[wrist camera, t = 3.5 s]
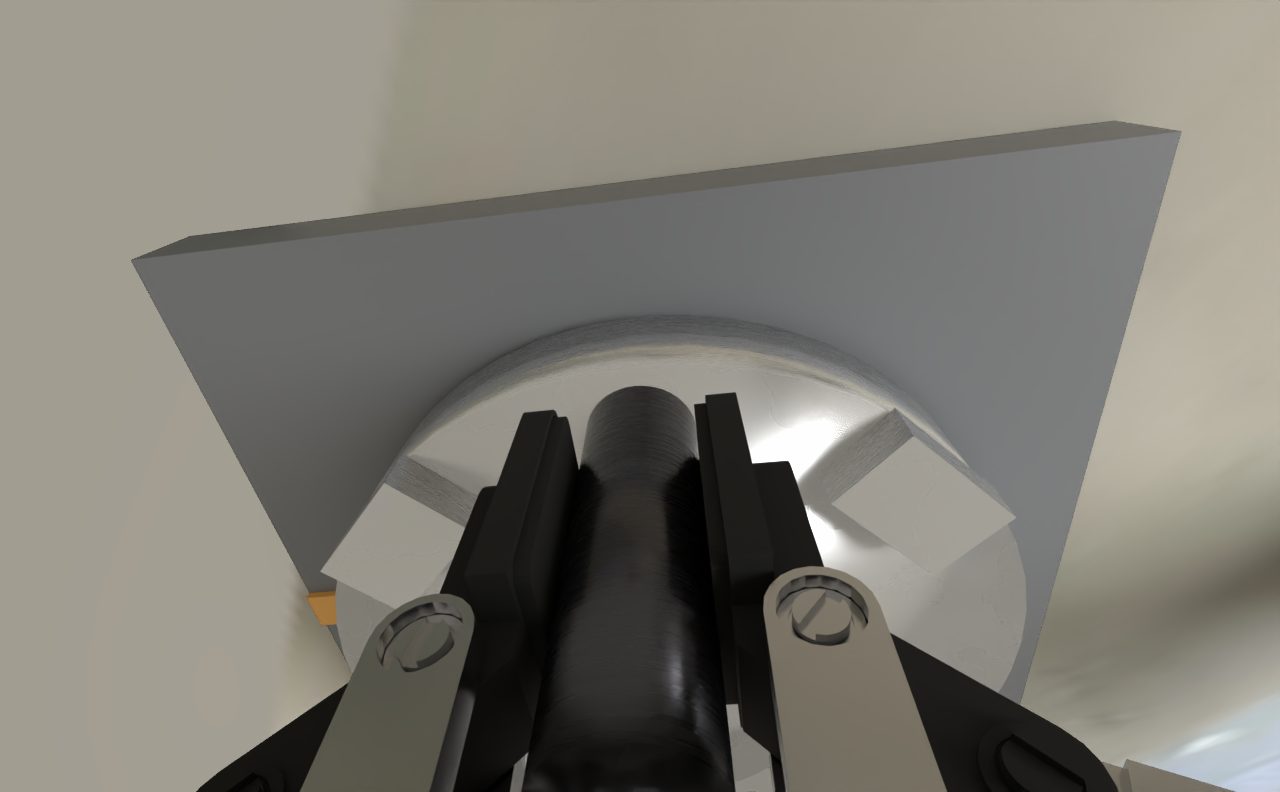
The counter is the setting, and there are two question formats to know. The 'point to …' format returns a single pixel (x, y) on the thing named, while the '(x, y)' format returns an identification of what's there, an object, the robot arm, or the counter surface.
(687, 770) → the round metal lid
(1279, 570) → the counter surface
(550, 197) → the gray square base plate
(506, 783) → the robot arm
